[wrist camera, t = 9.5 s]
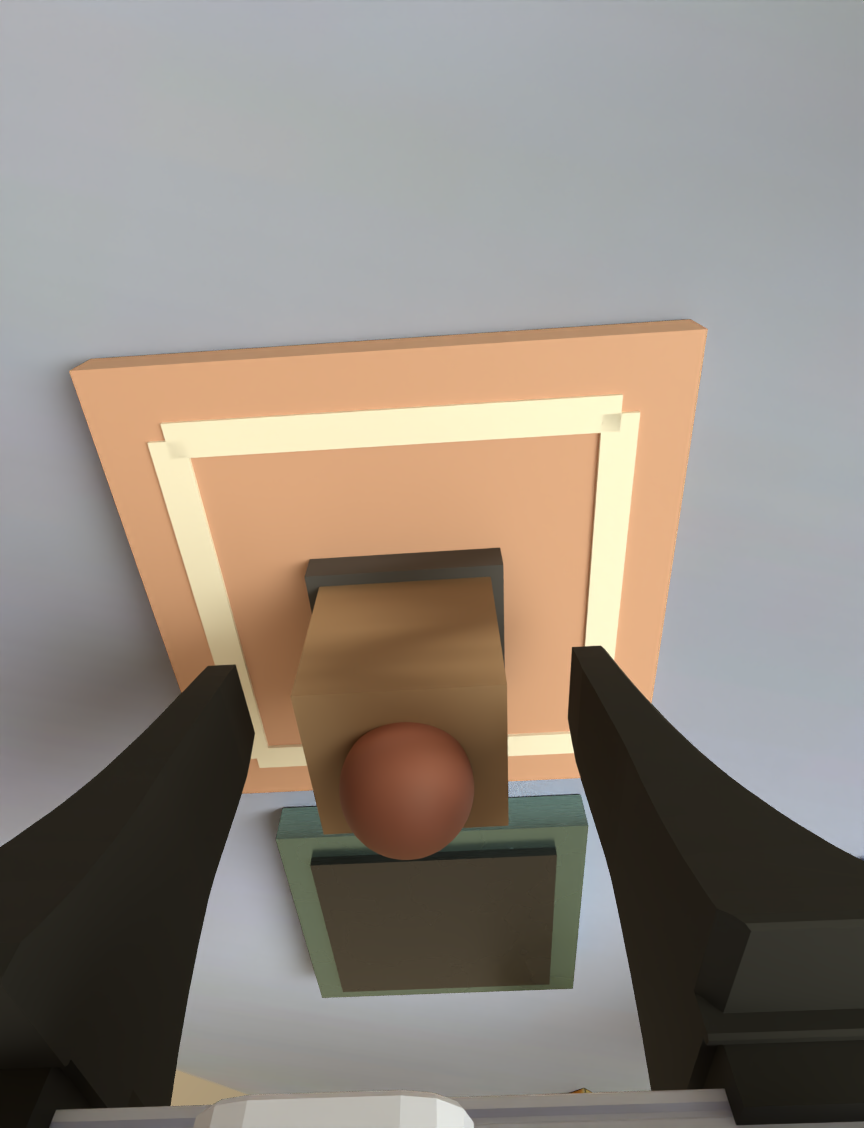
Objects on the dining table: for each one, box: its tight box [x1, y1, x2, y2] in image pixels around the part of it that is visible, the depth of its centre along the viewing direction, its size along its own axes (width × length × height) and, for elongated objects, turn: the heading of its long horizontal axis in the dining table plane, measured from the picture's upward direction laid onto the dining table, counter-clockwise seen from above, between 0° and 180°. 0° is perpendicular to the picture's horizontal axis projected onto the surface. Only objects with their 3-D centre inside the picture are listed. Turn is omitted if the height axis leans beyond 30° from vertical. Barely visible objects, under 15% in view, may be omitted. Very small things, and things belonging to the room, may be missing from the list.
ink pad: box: [276, 795, 588, 998], centre depth 24 cm, size 10×10×2 cm
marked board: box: [69, 319, 708, 794], centre depth 17 cm, size 13×13×1 cm
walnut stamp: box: [290, 548, 509, 860], centre depth 14 cm, size 5×5×6 cm
